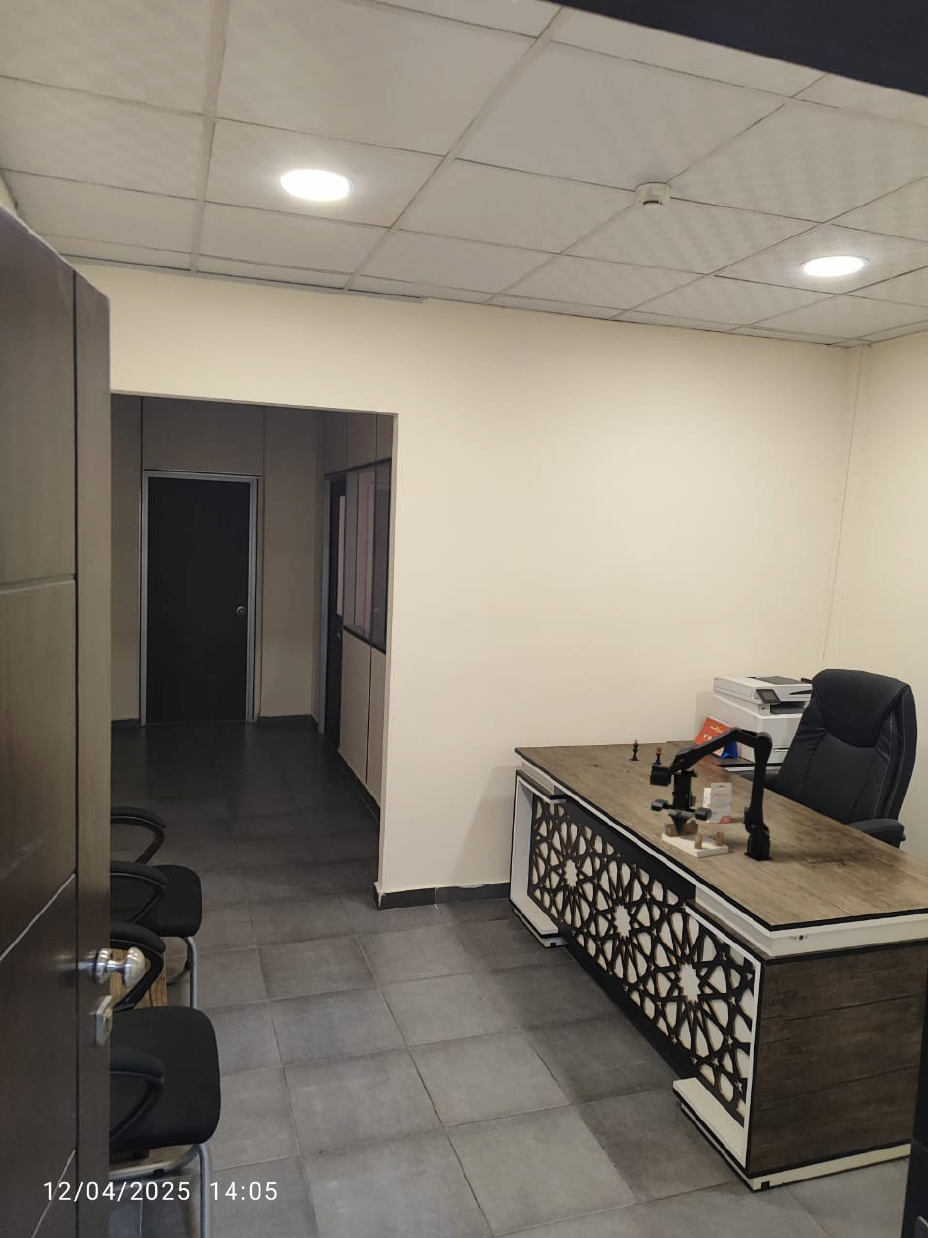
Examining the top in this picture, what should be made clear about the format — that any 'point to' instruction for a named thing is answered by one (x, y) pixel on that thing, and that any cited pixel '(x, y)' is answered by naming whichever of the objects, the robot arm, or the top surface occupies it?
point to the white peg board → (697, 843)
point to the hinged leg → (688, 829)
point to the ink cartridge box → (718, 802)
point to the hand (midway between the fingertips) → (679, 835)
